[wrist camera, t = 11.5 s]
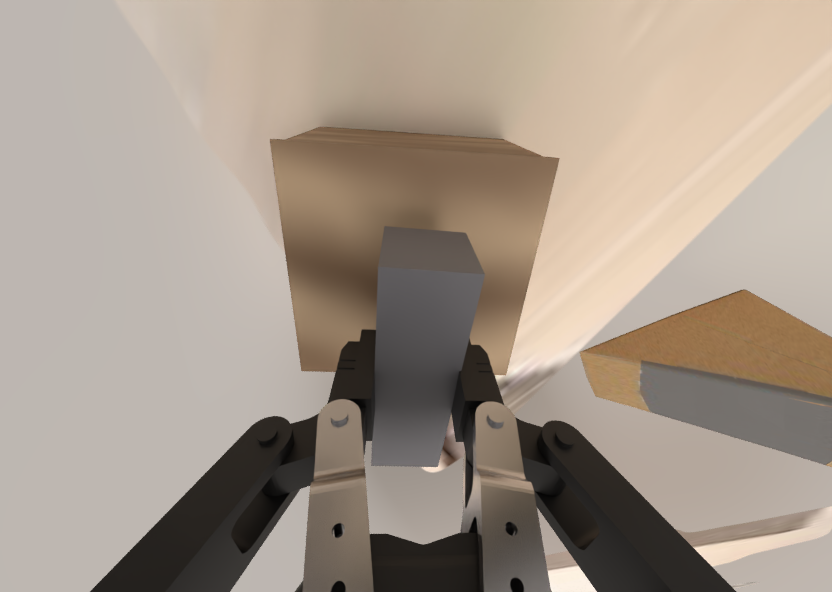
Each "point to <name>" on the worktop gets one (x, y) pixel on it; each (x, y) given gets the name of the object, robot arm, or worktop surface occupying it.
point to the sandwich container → (726, 373)
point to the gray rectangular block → (420, 340)
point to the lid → (408, 208)
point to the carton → (412, 141)
